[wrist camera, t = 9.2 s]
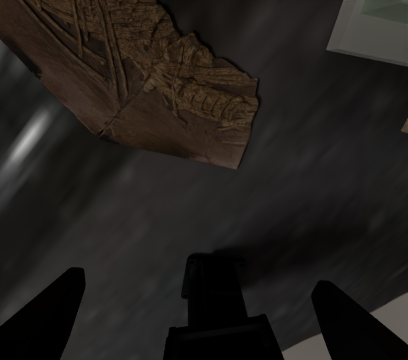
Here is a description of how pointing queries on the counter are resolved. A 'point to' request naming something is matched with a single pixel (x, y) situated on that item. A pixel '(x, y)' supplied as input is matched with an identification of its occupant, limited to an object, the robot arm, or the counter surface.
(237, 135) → the fossil slab
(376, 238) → the counter surface
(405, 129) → the beech bar
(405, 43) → the fulcrum board
